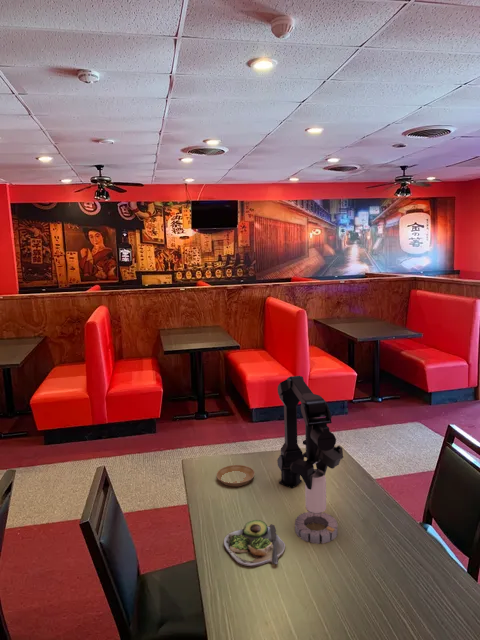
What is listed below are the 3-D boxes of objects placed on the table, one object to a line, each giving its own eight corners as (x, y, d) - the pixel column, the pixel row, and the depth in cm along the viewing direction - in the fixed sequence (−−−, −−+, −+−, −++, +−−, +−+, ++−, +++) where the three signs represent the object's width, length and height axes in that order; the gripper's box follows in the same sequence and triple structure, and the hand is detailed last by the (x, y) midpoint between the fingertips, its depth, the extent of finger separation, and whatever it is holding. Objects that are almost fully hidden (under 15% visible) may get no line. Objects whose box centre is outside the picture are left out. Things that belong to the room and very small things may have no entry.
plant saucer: (208, 481, 179) (208, 475, 179) (234, 467, 190) (233, 461, 190) (237, 493, 169) (237, 487, 169) (262, 477, 180) (262, 471, 180)
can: (325, 503, 151) (324, 468, 149) (327, 514, 145) (326, 478, 143) (305, 502, 152) (304, 468, 150) (306, 513, 145) (305, 477, 144)
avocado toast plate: (301, 560, 133) (301, 545, 132) (245, 580, 125) (244, 565, 125) (269, 524, 150) (268, 511, 149) (218, 541, 143) (217, 527, 142)
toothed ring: (287, 532, 145) (286, 523, 145) (310, 513, 155) (310, 506, 154) (322, 549, 137) (322, 540, 136) (345, 528, 146) (345, 520, 146)
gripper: (320, 454, 133) (321, 505, 135) (352, 434, 146) (353, 481, 148) (288, 445, 140) (290, 493, 142) (322, 426, 154) (323, 471, 156)
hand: (315, 484), depth 147 cm, fingers closed on can, 6 cm apart
